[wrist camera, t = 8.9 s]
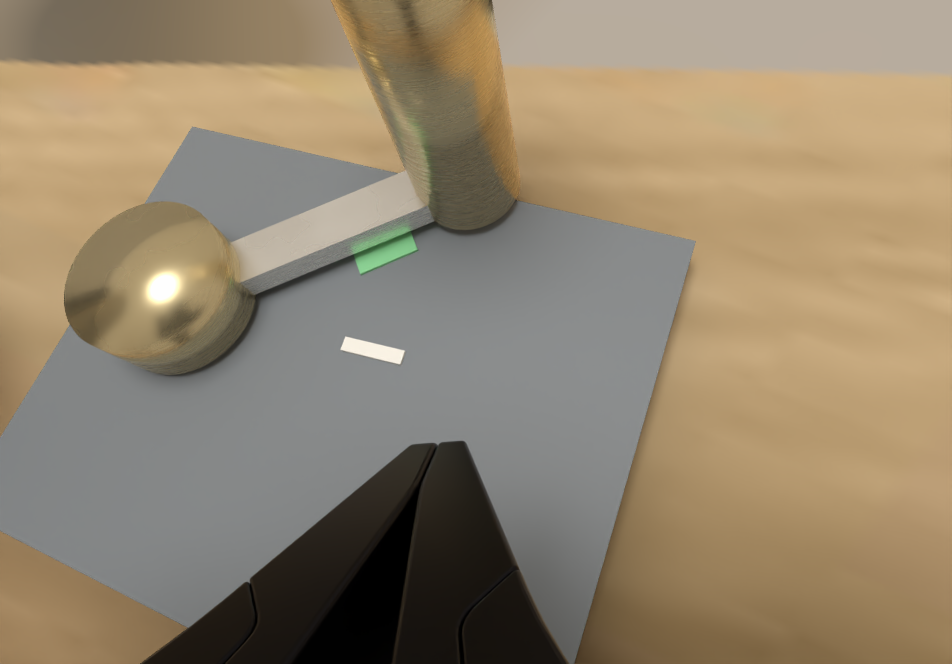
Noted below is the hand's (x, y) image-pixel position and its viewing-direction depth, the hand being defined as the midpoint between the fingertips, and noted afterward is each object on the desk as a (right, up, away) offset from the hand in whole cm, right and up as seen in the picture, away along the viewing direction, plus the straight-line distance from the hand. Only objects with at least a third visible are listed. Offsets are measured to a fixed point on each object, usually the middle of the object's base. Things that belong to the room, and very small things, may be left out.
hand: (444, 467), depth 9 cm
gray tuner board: (-4, 0, +8) cm, 9 cm away
